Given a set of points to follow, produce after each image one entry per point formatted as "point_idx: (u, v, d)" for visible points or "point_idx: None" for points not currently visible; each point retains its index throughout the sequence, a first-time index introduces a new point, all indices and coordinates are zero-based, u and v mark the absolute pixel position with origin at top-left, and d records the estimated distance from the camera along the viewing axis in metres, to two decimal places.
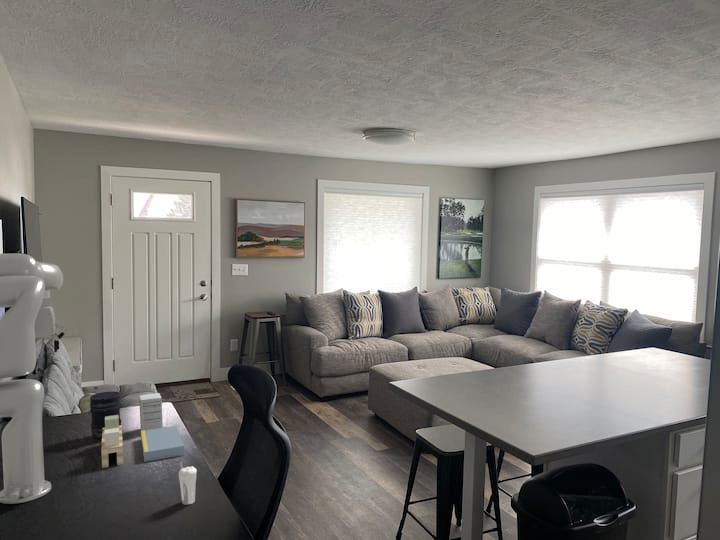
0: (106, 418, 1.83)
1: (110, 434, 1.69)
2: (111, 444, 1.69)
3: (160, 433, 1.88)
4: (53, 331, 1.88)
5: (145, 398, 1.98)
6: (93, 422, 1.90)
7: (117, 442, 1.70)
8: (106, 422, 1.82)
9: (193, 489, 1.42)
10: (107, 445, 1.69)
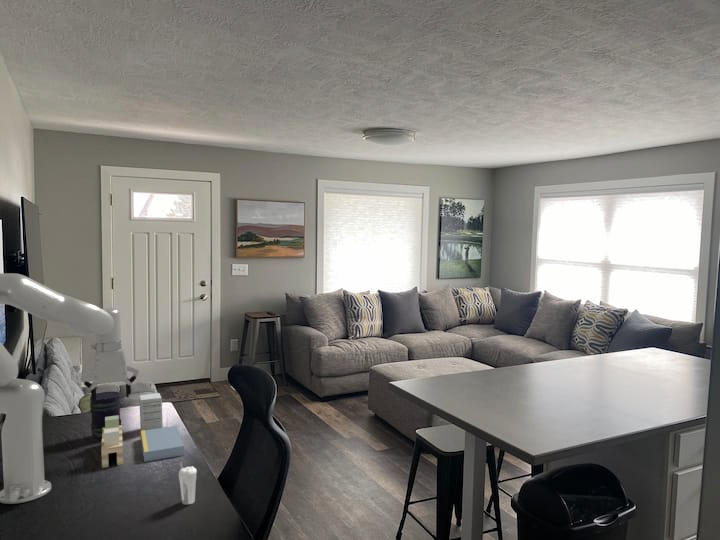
0: (106, 418, 1.83)
1: (110, 434, 1.69)
2: (111, 444, 1.69)
3: (160, 433, 1.88)
4: (125, 375, 1.77)
5: (145, 398, 1.98)
6: (93, 422, 1.90)
7: (117, 442, 1.70)
8: (106, 422, 1.81)
9: (193, 489, 1.42)
10: (107, 445, 1.69)
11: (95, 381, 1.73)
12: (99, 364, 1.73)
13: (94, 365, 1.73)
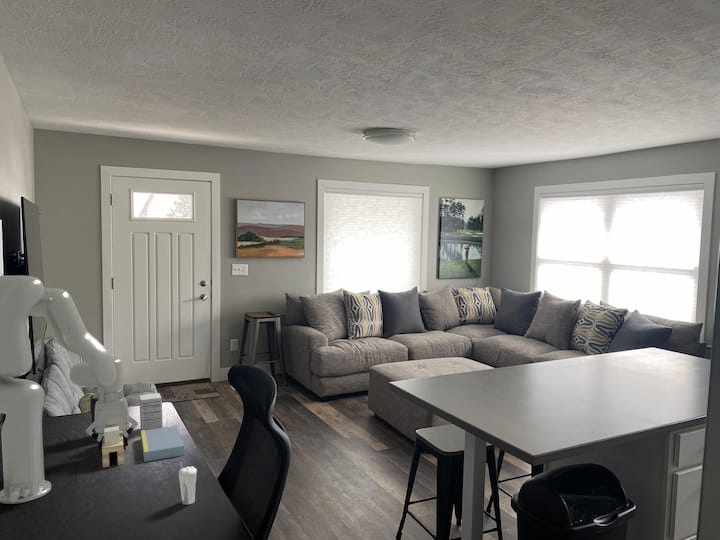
0: None
1: (110, 432, 1.70)
2: (111, 442, 1.70)
3: (160, 433, 1.88)
4: (127, 424, 1.77)
5: (145, 398, 1.98)
6: None
7: (117, 440, 1.71)
8: None
9: (193, 489, 1.42)
10: (107, 443, 1.69)
11: (97, 431, 1.74)
12: (101, 414, 1.74)
13: (96, 415, 1.73)
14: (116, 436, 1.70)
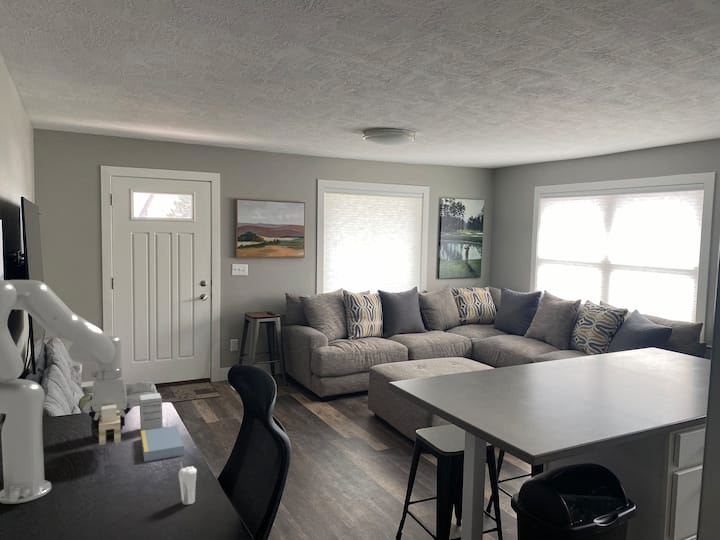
0: None
1: (107, 410, 1.69)
2: (108, 420, 1.69)
3: (160, 433, 1.88)
4: (125, 404, 1.76)
5: (145, 398, 1.98)
6: (93, 422, 1.90)
7: (114, 418, 1.70)
8: None
9: (193, 489, 1.42)
10: (104, 421, 1.68)
11: (94, 409, 1.73)
12: (99, 392, 1.73)
13: (94, 393, 1.73)
14: (113, 414, 1.69)
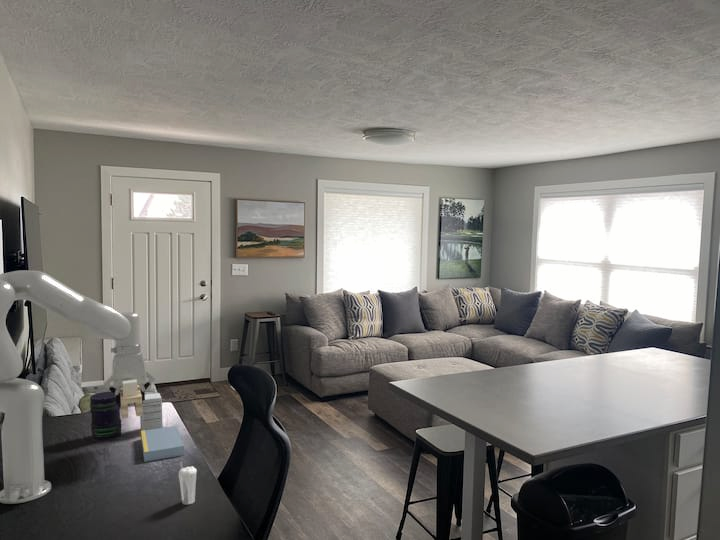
0: None
1: (129, 384, 1.71)
2: (130, 394, 1.71)
3: (160, 433, 1.88)
4: (145, 379, 1.79)
5: (145, 398, 1.98)
6: (93, 422, 1.90)
7: (135, 392, 1.72)
8: None
9: (193, 489, 1.42)
10: (126, 395, 1.71)
11: (115, 384, 1.75)
12: (119, 367, 1.75)
13: (114, 368, 1.75)
14: (134, 388, 1.72)
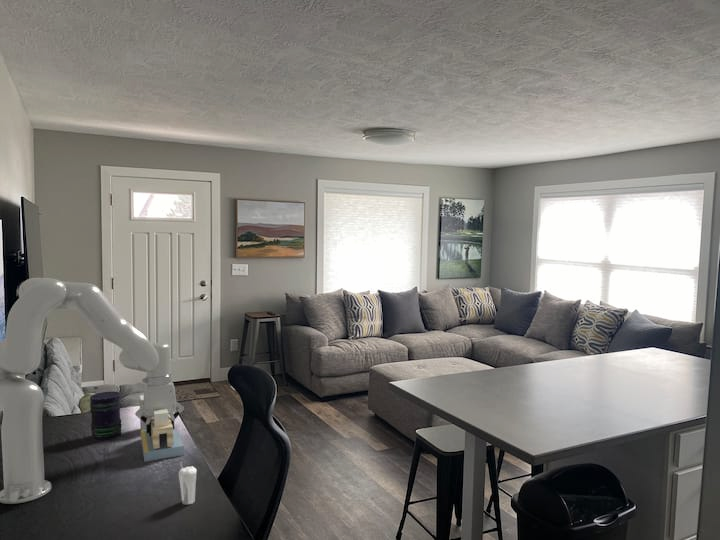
0: None
1: (160, 415, 1.75)
2: (161, 424, 1.75)
3: None
4: (175, 408, 1.82)
5: None
6: (93, 422, 1.90)
7: (166, 423, 1.75)
8: None
9: (193, 489, 1.42)
10: (157, 425, 1.74)
11: (146, 414, 1.78)
12: (150, 397, 1.79)
13: (145, 398, 1.78)
14: (165, 418, 1.75)
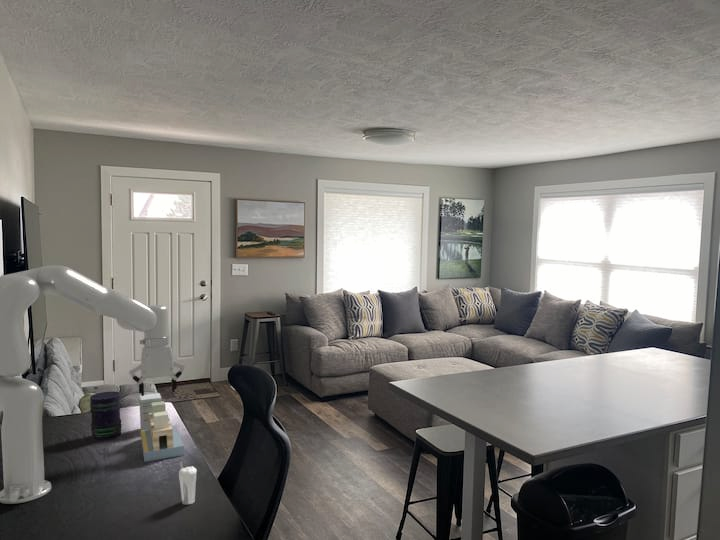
0: (153, 404, 1.87)
1: (160, 417, 1.75)
2: (161, 426, 1.75)
3: None
4: (172, 371, 1.81)
5: (145, 398, 1.98)
6: (93, 422, 1.90)
7: (166, 425, 1.75)
8: (153, 408, 1.86)
9: (193, 489, 1.42)
10: (157, 427, 1.74)
11: (143, 375, 1.78)
12: (148, 359, 1.78)
13: (143, 360, 1.77)
14: (165, 420, 1.75)
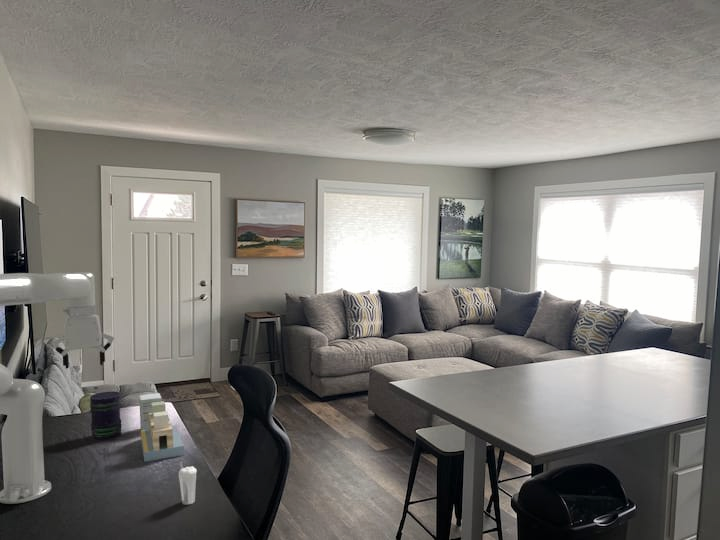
0: (153, 404, 1.87)
1: (160, 417, 1.75)
2: (161, 426, 1.75)
3: None
4: (99, 342, 1.70)
5: (145, 398, 1.98)
6: (93, 422, 1.90)
7: (166, 425, 1.75)
8: (153, 408, 1.86)
9: (193, 489, 1.42)
10: (157, 427, 1.74)
11: (67, 346, 1.66)
12: (71, 329, 1.67)
13: (66, 330, 1.66)
14: (165, 420, 1.75)
